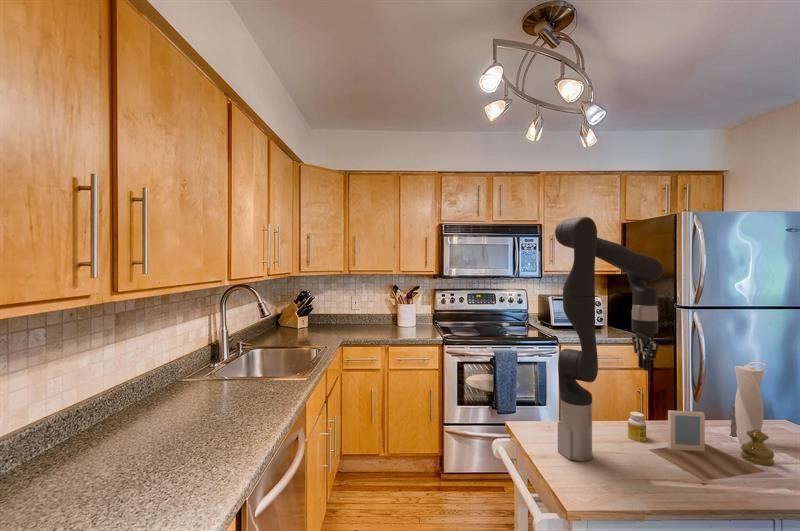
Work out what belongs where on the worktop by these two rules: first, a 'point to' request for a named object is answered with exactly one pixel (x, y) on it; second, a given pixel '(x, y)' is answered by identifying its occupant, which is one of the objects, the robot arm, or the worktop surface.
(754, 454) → the brass knob
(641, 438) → the supplement bottle
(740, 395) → the skyscraper
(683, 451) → the board
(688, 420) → the tile
